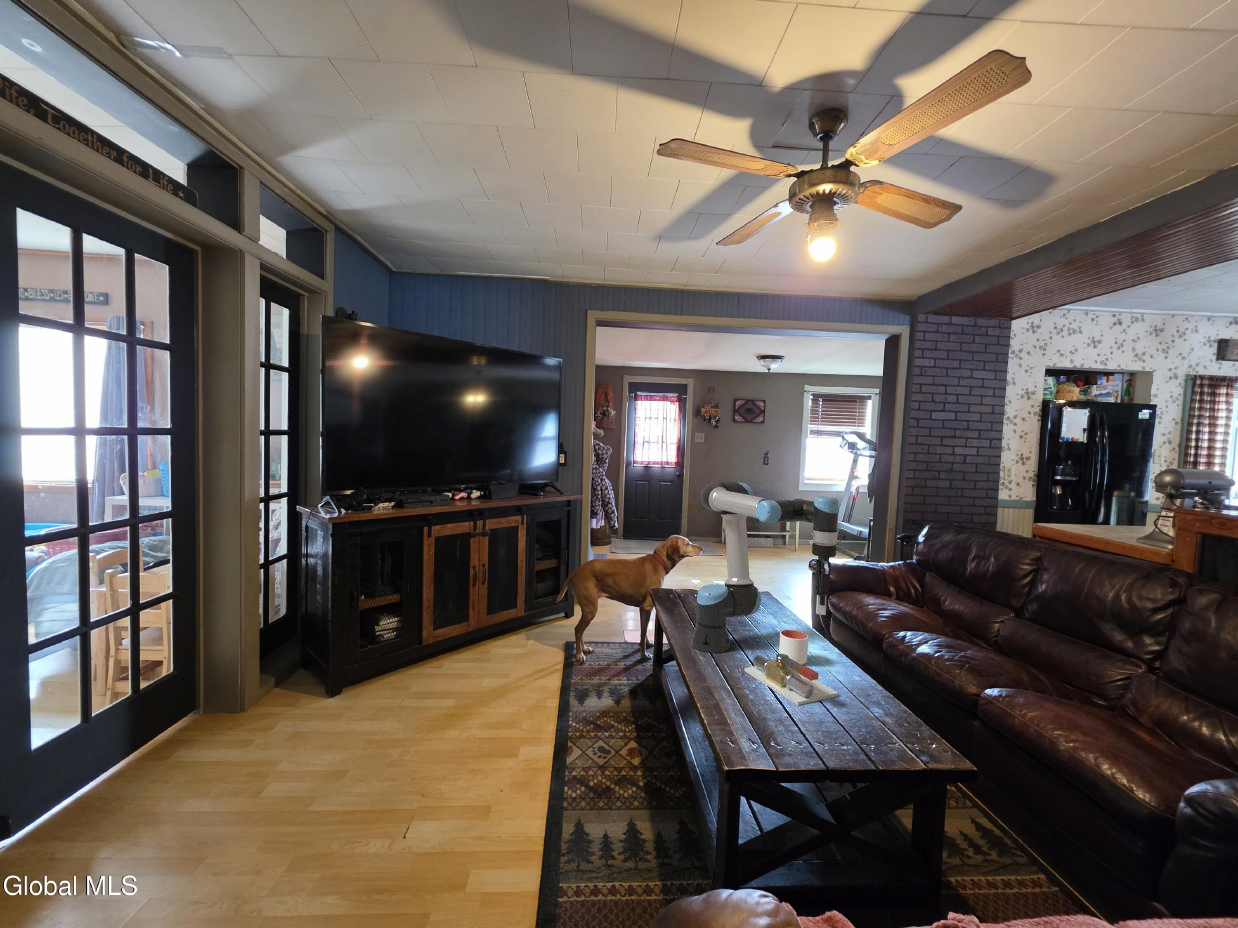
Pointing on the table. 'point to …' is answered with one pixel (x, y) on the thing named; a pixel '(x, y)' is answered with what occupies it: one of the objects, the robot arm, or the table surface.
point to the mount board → (818, 690)
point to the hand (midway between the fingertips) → (820, 613)
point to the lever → (797, 667)
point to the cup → (794, 645)
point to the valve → (783, 676)
